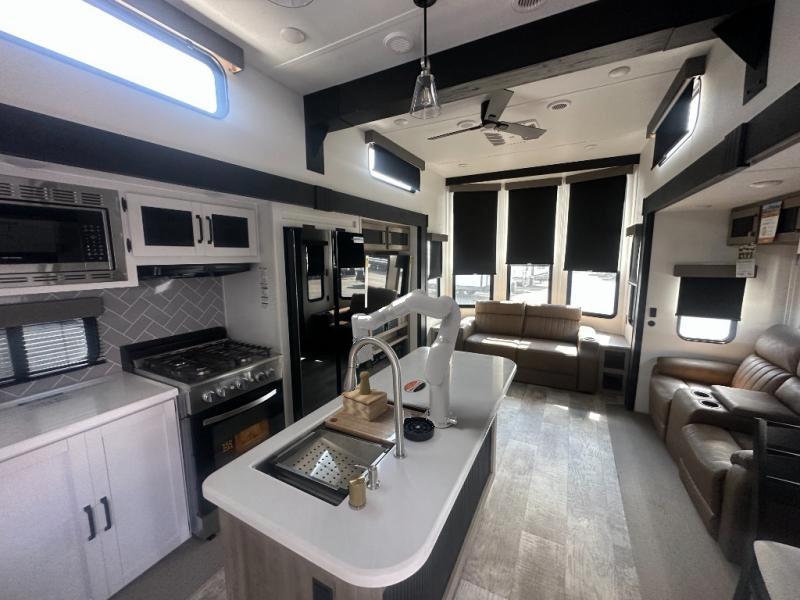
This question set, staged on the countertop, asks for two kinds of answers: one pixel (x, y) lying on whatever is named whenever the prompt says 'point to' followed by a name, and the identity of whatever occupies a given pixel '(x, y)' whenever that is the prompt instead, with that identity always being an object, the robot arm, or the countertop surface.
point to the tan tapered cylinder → (364, 383)
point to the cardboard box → (365, 408)
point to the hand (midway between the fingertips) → (364, 371)
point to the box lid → (365, 398)
